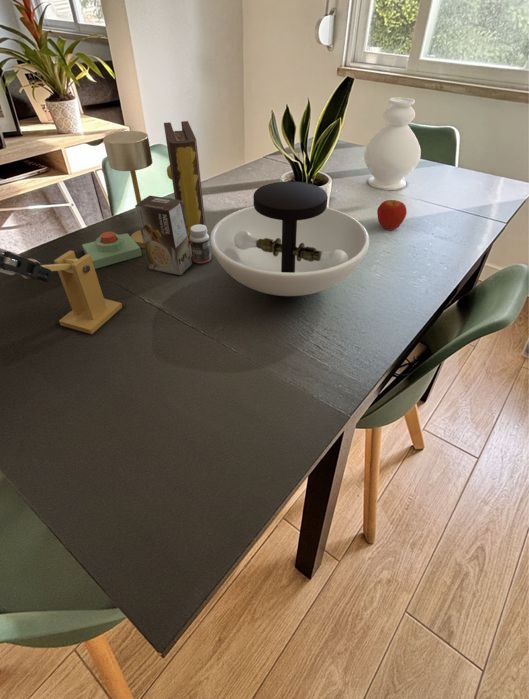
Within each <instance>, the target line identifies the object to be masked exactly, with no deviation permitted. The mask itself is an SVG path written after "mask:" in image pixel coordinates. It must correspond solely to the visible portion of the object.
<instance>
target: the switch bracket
mask: <svg viewBox="0 0 529 699" xmlns="http://www.w3.org/2000/svg"><path fill="white" fill-rule="evenodd" d="M75 258H77V256H76V254H75V251H74V250H68V251H67V252H65V253H63V254H61V255H60V256H59V257H57V258H55V259H54V260H53V262H54V263H53V264H64V263H65V259H75ZM77 259H78V260H77V261H75V262H74V263H72V264H71V267H72V270H73V273H74V274H73V273H69V272H65V270H60V271H57V273H58V276H59V278H60V281H61V283H62V284H61V285H62V286H63V289H64V292H65V294H66V297H67V299H68V303H69V305H70V308H71V310H70V311H69V312H68V313H67V314H66V315H63V317H62V318H60V319H59V320H58V322H59V325H60V326H61V327H66V328H69V329H72V330H75V331H77V332H78V331H79V332H82V333H85V334H88V335H93V334H94V333H95V332H96V331H98V330H99V329H100V328H101V327H102V326H103V325H104V324H106V323H107V322H108V321H109V320H110V319H111V318H112V317H114V315H115V314H117V313H118V312H119V311H120V310H121V309H122V308H123V305H122V302H119V301H115V300H112V299H107V298H105V297H104V295H103V291H102V288H101V284H100V281H99V278H98V275H97V272H96V269H95V268H94V265H93V261H92V258H91V255H89V254H84V255H83V256H81V257H79V258H77Z"/></svg>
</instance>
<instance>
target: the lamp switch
mask: <svg viewBox="0 0 529 699" xmlns="http://www.w3.org/2000/svg"><path fill="white" fill-rule="evenodd" d="M28 259H29V260H31V261H34V262H35V261H36V262H39V261H38V260H37V259H35V258H28ZM78 259H79V258H77V257H76V258H75V259H65V263H64V264H55V263H53V264H52V263H49V264H41V266H42V267H45V268H47V269H50V270H51V272H58V271H60V270H65V272H69V273H73V270H72V267H71V264H72V263H74V262H75V261H77V260H78ZM73 274H74V273H73ZM21 277H22V278H24V279H25V280H28V281H36V280H37V279H31V278H30V277H29V278H27V277H25V276H23V275H21Z"/></svg>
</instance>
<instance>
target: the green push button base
mask: <svg viewBox="0 0 529 699" xmlns="http://www.w3.org/2000/svg"><path fill="white" fill-rule="evenodd" d="M115 235H116V239H117V241H115V242H114V243H110V244H104V243H102V240H101V237H100V236H98V237H97V238H96V240H94V241H90V242H86V243H83V244H81V247H82V250H83V253H84V255H86V254H89V255H91V258H92V261H93V265H94V268H95V270H96V269H100V268H104V267H106V266H110V265H114V264H118V263H121V262H125V261H128V260H131V259H136V258H139V257H142V256H143V253H142V248H140V247H139V246H138V245H137V244H136V242H135V241H134V240H133V239H132V238H131V235H130V234H129V233H128V232H126V233H122V234H119V233H118V234H117V233H115Z"/></svg>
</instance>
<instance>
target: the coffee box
mask: <svg viewBox="0 0 529 699" xmlns="http://www.w3.org/2000/svg"><path fill="white" fill-rule="evenodd" d="M134 208H135V211H136V216H137V221H138V225H139V230H141V234H142V239H143V243H144V247H145V248H144V251H145V252H144V253H145V256H146V260H147V265H148V269H149V270H152V271H158V272H163V273H166V274H167V273H168V274H171V275H172V274H173V275H177V276H181V275H183V274H184V272H186V271H187V270H188V269H189V268H190V267H191V266H192V264H193V260H192V253H191V246H190V244H189V240H188V233H187V226H186V220H185V213H184V206H183V201H182V200H176V199H175V198H169V197H162V196H156V195H148V196H146V197H144V198H143V199H141V201H140V203H138V204H137V203H136V205H135V206H134Z"/></svg>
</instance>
